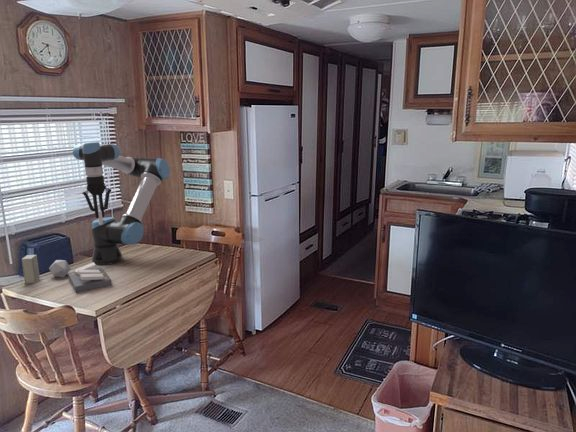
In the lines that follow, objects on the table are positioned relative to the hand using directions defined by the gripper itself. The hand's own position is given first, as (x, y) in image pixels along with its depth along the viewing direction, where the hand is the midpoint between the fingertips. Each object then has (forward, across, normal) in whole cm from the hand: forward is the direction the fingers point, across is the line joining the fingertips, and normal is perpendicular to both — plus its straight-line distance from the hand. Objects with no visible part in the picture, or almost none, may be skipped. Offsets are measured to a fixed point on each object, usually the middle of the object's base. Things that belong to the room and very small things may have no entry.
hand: (100, 224), depth 209 cm
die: (+25, -19, +9) cm, 33 cm away
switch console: (+25, -10, -9) cm, 28 cm away
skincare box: (+25, -31, +9) cm, 41 cm away
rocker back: (+21, -10, -2) cm, 23 cm away
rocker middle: (+20, -10, -9) cm, 24 cm away
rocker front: (+20, -10, -16) cm, 28 cm away
